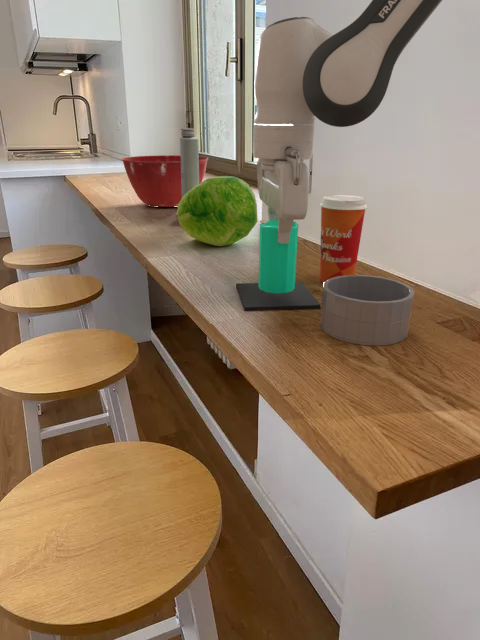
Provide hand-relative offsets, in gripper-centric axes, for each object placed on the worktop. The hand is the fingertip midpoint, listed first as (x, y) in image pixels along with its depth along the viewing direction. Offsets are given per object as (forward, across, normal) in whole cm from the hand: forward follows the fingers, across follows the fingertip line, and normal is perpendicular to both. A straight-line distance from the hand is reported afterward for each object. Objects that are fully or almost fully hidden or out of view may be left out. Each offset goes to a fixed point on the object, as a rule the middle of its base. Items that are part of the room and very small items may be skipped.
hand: (278, 238), depth 78 cm
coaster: (+10, 0, 0) cm, 10 cm away
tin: (+10, -14, -10) cm, 20 cm away
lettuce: (+10, +38, +7) cm, 40 cm away
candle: (+8, 0, 0) cm, 8 cm away
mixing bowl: (+10, +96, +19) cm, 98 cm away
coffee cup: (+10, +8, -13) cm, 18 cm away
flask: (+10, +67, +12) cm, 69 cm away
